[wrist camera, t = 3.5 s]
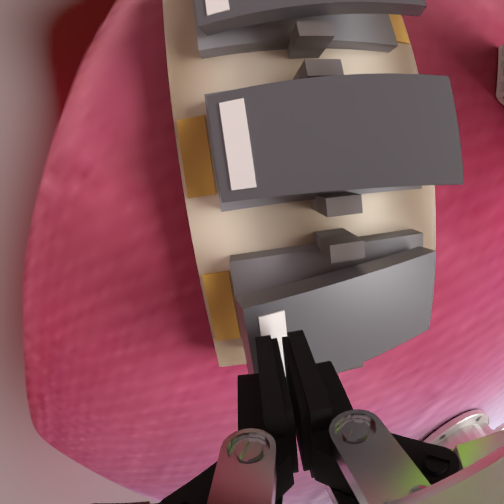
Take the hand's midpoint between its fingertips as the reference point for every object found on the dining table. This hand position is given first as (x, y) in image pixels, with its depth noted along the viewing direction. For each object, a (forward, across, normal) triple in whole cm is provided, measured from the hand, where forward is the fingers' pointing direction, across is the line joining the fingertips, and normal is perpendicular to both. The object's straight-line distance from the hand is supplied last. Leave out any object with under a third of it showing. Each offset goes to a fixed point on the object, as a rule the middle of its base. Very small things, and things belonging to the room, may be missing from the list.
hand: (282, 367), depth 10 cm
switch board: (+8, -4, -8) cm, 12 cm away
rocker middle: (+3, -4, -8) cm, 9 cm away
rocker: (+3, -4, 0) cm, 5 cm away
